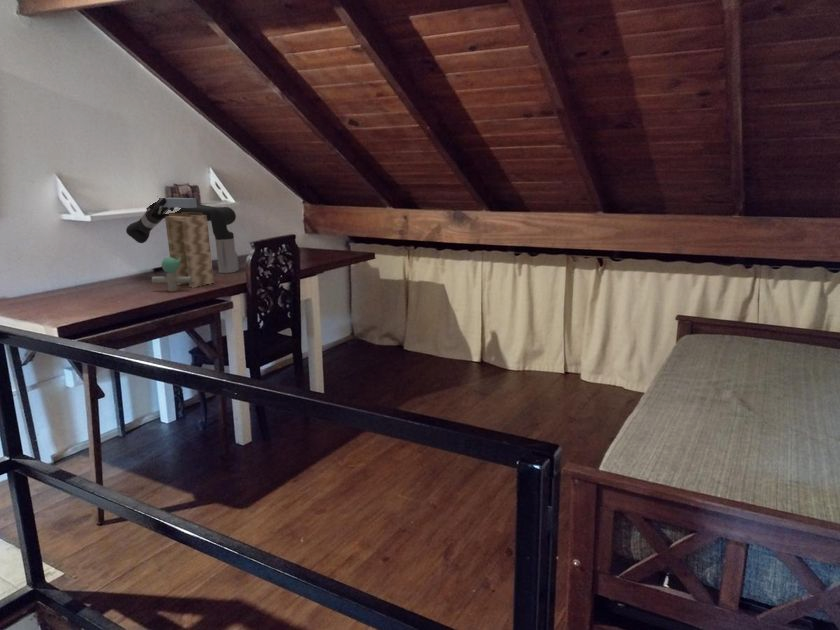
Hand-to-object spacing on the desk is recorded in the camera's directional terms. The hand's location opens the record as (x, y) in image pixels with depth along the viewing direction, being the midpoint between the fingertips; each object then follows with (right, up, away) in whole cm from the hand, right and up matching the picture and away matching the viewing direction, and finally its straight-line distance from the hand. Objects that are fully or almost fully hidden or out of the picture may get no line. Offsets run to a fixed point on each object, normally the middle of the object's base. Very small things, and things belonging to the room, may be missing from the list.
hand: (169, 199), depth 289 cm
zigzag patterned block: (+10, -39, +4) cm, 41 cm away
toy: (+6, -43, -10) cm, 44 cm away
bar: (+5, -4, -2) cm, 7 cm away
